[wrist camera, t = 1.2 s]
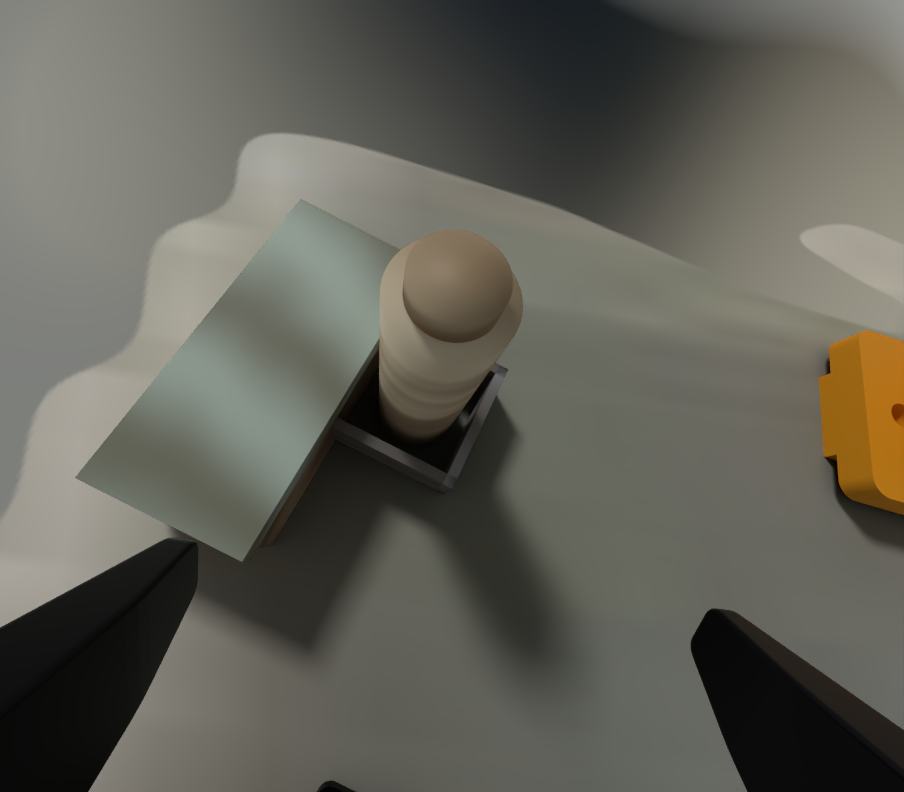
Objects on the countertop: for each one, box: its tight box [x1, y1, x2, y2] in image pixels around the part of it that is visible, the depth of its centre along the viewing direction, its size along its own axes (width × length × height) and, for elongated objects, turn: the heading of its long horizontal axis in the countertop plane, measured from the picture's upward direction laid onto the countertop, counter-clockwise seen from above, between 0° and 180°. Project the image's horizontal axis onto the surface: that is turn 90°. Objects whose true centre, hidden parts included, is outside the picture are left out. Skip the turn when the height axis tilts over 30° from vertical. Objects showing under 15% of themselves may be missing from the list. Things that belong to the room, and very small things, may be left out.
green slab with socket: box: [75, 199, 508, 562], centre depth 20 cm, size 15×12×5 cm
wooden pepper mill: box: [379, 230, 523, 448], centre depth 17 cm, size 4×4×13 cm
